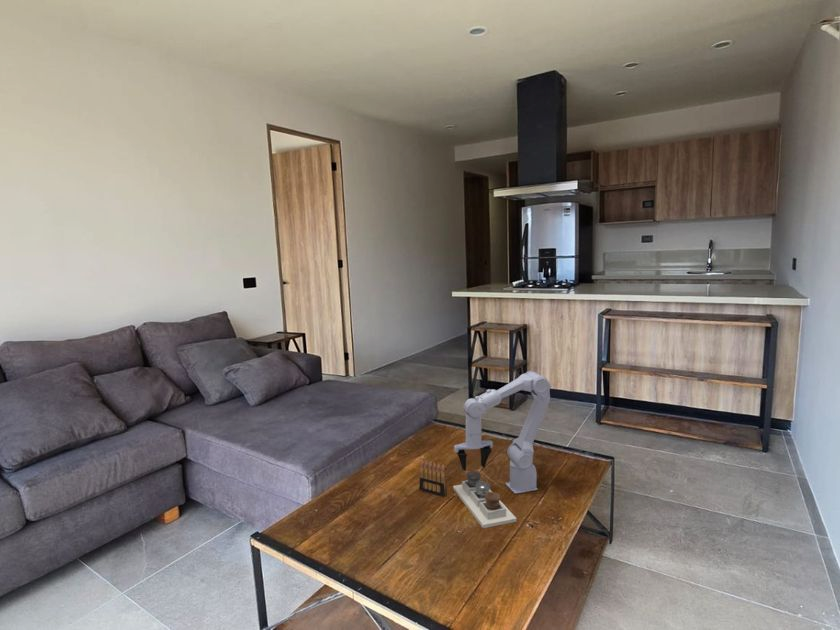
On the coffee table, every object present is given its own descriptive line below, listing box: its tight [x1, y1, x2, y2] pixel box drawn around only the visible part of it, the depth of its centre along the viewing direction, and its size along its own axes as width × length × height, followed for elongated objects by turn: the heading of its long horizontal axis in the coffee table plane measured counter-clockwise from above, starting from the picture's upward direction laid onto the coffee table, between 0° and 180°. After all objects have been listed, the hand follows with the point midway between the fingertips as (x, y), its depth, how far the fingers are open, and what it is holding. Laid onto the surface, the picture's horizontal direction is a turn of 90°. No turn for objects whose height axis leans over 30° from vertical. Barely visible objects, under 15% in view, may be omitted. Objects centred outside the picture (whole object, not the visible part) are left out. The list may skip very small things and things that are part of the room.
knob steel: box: [475, 480, 491, 498], centre depth 164 cm, size 5×5×4 cm
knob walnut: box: [485, 491, 501, 510], centre depth 157 cm, size 5×5×4 cm
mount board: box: [452, 479, 517, 529], centre depth 165 cm, size 12×27×4 cm, turn 17°
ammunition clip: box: [418, 459, 447, 498], centre depth 173 cm, size 11×2×12 cm, turn 59°
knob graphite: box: [465, 471, 482, 487], centre depth 172 cm, size 5×5×4 cm
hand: (473, 467), depth 171 cm, fingers open, 7 cm apart
